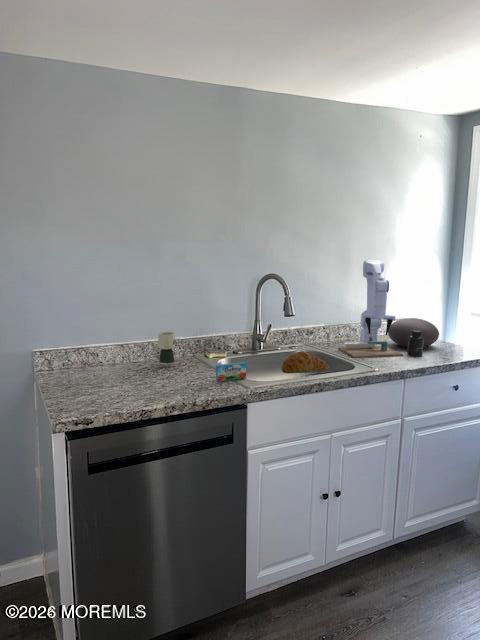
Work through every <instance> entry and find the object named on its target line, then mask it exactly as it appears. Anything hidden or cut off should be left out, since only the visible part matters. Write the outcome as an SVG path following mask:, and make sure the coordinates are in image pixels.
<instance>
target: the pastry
mask: <svg viewBox="0 0 480 640" xmlns="http://www.w3.org/2000/svg"><path fill="white" fill-rule="evenodd" d="M280 369H281V371H282V373H284V374H303V373H306V374H307V373H312V372H327V371H329V370H330V366H329V364H328V363H327V362H326V361H325V360H323V359H321V358H319V357H318V356H315V355H312V354H311V353H308V352H306V351H304V350H301V351H296V352H295V353H292V354H291V355H289V356H288V357H287V358H286V359H285V360H284V361H283V363H282V366H281V368H280Z"/></svg>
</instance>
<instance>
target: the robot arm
mask: <svg viewBox="0 0 480 640" xmlns="http://www.w3.org/2000/svg"><path fill="white" fill-rule="evenodd" d="M384 270H385V262H384V260H374V259H373V260H372V259H371V260H368V259H365V260H363V263H362V276H363V278H366V283H367V284H366V309H365V310H364V311H363V312H361V314H360V327H361V329H360V331H359V333H360V334H359V335H360V336H359V342H357V343H364V342H368V341H369V337H372V341H378V332H379V331H378V330H379V329H380V328H381V327H382V322H383V321H384V320H385V321H386V329H385V336H388V330H389V328H390V326H391V324H392V323H394V322H396V316H395V315H389V314H388V315H387V314H386V313H387V300H388V293H389V291H390V281H389V280H388V279H386V276H385V274H384ZM374 346H381V344H374Z"/></svg>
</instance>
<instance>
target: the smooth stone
mask: <svg viewBox="0 0 480 640" xmlns="http://www.w3.org/2000/svg"><path fill="white" fill-rule="evenodd" d="M412 330H418V331H422V337H423V338H424V345H423V348H426V347H430V346H431V345H433V344H435V343H436V342H437V341H438V340H439V337H440V331H439V330H438V328H437V326H436V325H434V324H433V323H432V322H430V321H428V320H425V319H422V318H416V317H407V318H402V319H398V320H395V321H393V322H392V324H391V326H390V328H389V330H388V333H387V336H388V338H390V340H391V341H393V342H394V343H395V344H396V345H399V346H402V347H404V348H408V340H409V337H410V336H412V335H411V332H412Z"/></svg>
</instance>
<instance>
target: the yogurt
mask: <svg viewBox="0 0 480 640" xmlns="http://www.w3.org/2000/svg"><path fill="white" fill-rule="evenodd" d="M241 378H243V379H241ZM235 379H239V380H245V379H247V363H246V362H243V361H242V362H233V363H222V364H216V365H215V381H216V382H218V383H220V382H229V381H236V380H235Z"/></svg>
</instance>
